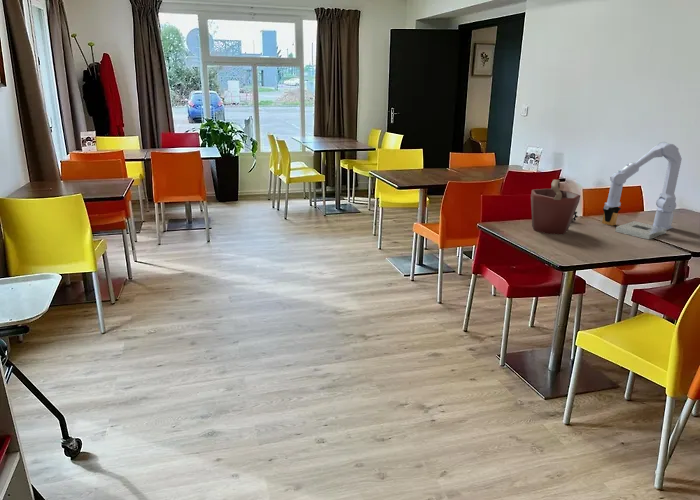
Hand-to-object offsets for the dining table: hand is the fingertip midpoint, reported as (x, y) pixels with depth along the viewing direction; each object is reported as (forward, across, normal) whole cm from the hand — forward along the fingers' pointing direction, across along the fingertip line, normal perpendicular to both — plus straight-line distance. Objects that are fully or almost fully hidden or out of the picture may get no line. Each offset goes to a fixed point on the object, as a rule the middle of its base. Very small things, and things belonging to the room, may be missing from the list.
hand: (609, 220), depth 268 cm
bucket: (+2, +39, -12) cm, 41 cm away
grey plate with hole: (+2, +2, +17) cm, 17 cm away
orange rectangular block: (+2, 0, 0) cm, 2 cm away
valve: (+2, +18, -16) cm, 24 cm away
